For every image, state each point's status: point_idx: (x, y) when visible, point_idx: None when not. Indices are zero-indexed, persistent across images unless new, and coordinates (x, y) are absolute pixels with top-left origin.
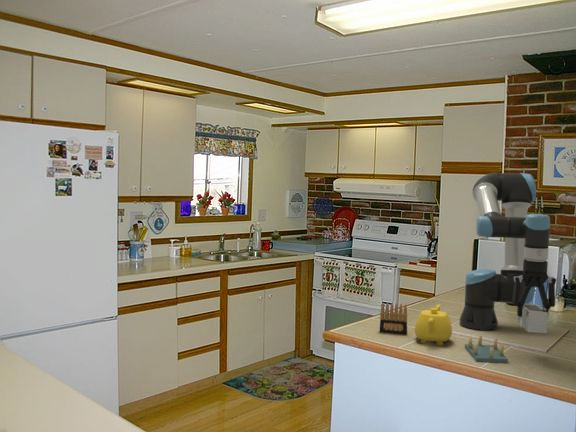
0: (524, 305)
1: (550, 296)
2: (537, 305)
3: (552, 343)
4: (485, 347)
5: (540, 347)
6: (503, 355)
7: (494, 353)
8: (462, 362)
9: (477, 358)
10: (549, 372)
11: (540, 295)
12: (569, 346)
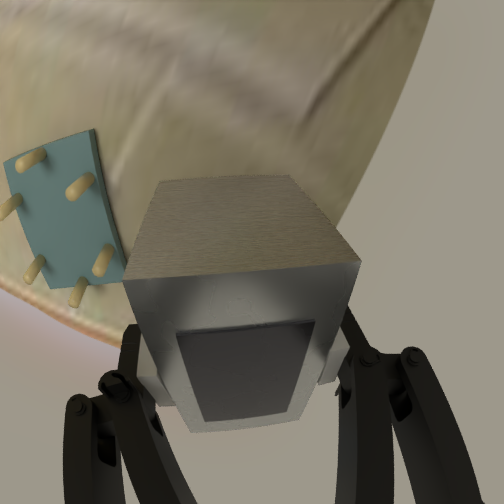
0: (180, 348)
1: (405, 444)
2: (334, 312)
3: (368, 23)
4: (57, 175)
5: (303, 66)
6: (114, 250)
7: (87, 237)
8: (32, 293)
9: (53, 287)
10: None
11: (355, 459)
12: (408, 62)
